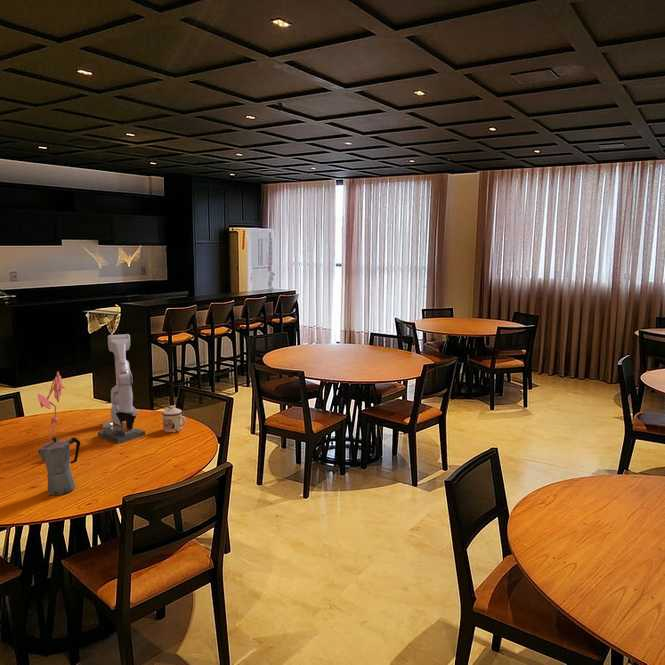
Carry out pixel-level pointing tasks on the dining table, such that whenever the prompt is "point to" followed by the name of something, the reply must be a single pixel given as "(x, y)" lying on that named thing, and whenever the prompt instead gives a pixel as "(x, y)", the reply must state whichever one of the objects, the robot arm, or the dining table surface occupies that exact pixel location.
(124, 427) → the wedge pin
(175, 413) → the teacup with lid
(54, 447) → the moka pot
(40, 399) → the pink orchid stem
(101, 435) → the grey base plate
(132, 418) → the robot arm
